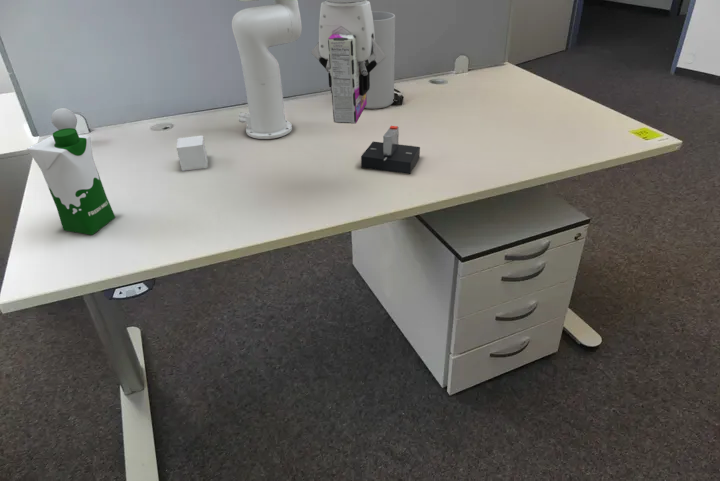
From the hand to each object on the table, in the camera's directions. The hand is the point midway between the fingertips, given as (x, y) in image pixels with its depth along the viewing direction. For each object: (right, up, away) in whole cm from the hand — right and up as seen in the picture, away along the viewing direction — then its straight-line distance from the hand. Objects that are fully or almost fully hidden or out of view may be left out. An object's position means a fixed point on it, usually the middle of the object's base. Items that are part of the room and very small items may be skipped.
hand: (349, 91), depth 105 cm
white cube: (-38, -11, +23) cm, 46 cm away
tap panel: (+10, -11, +21) cm, 26 cm away
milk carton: (-53, -27, +2) cm, 59 cm away
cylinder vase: (+6, +12, +56) cm, 58 cm away
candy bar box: (0, -4, +3) cm, 5 cm away
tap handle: (+9, -9, +19) cm, 23 cm away
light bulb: (-75, -4, +35) cm, 83 cm away
